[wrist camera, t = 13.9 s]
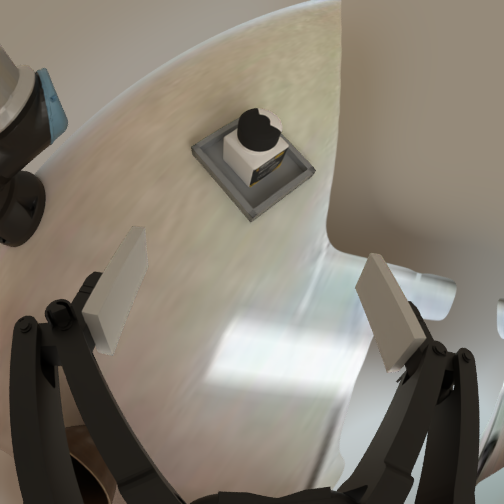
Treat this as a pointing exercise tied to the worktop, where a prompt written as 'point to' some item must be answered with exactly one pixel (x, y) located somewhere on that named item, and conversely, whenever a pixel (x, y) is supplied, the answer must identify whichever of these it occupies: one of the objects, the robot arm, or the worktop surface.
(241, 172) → the medicine bottle
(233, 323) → the worktop surface
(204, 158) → the tray
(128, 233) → the robot arm
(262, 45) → the worktop surface
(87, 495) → the plant pot
